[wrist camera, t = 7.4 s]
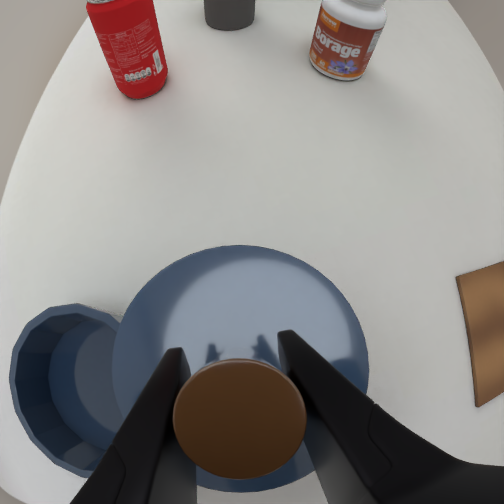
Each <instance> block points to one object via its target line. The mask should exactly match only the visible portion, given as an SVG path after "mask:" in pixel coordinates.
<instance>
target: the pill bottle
mask: <svg viewBox="0 0 504 504" xmlns="http://www.w3.org/2000/svg"><path fill="white" fill-rule="evenodd" d="M384 3H385V0H322V3H321V6H320V11H319V15H318V19H317V23H316V27H315V31H314V35H313V39H312V43H311V47H310V52H309V57H310V61H311V63H312V64H313V66H314V67H315V68H316V69H317V70H318V71H320V72H321V73H323V74H325V75H327V76H329V77H331V78H335V79H339V80H354V79H357V78H359V77H360V76H361V75H362V74H363V73H364V71H365V69H366V67H367V64H368V62H369V60H370V58H371V55H372V53H373V51H374V48H375V46H376V44H377V41H378V39H379V37H380V35H381V32H382V30H383V28H384V25H385V23H386V20H387V14H386V11H385V9H384V7H383V6H382V5H384Z"/></svg>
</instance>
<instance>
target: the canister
mask: <svg viewBox="0 0 504 504" xmlns="http://www.w3.org/2000/svg"><path fill="white" fill-rule="evenodd" d="M122 318H123V316H122V315H119V314H115V313H112V312H109V311H106V310H102V309H98V308H94V307H90V306H86V305H83V304H78V303H76V304H69V305H62V306H55V307H50V308H48V309H46V310H45V311H43V312H42V313H41V314H39V315H38V316H36V317H35V318H34V319H32V320H31V321H30V322H28V323H27V324H26V326H25V328H24V329H23V331H22V333H21V335H20V336H19V338H18V340H17V342H16V344H15V346H14V348H13V351H12V357H11V365H10V373H9V383H10V389H11V394H12V399H13V404H14V409H15V412H16V414H17V416H18V418H19V420H20V422H21V424H22V425H23V427H24V429H25V431H26V433H27V435H28V436H29V438H30V440H31V441H32V442H33V443H34V444H35V445H36V446H37V447H38V448H39V449H40V450H41V451H42V452H43V453H44V454H45V455H46V456H47V457H48V458H49V459H50V460H51V461H52V462H53V463H54V464H56V465H58V466H60V467H62V468H64V469H66V470H68V471H70V472H72V473H74V474H76V475H78V476H80V477H84V478H89V477H90V476H91V474H92V473H93V472H94V470H95V469H96V467H97V465H98V464H99V462H100V461H101V459H102V457H103V456H104V454H105V453H106V451H107V449H108V447H109V446H110V444H113V443H112V441H113V439H114V437H115V436H116V434H117V432H118V431H119V429H120V427H121V425H122V424H123V422H124V420H123V418H122V415H121V413H120V410H119V407H118V404H117V402H116V397H115V393H114V388H113V381H112V353H113V348H114V343H115V338H116V335H117V332H118V329H119V326H120V323H121V320H122Z"/></svg>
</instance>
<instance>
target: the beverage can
mask: <svg viewBox="0 0 504 504" xmlns="http://www.w3.org/2000/svg"><path fill="white" fill-rule="evenodd" d="M86 9H87V12H88V14H89V17H90V20H91V23H92V25H93V28H94V30H95V33H96V36H97V38H98V41H99V43H100V46H101V48H102V51H103V53H104V56H105V58H106V61H107V63H108V66H109V68H110V70H111V73H112V75H113V78H114V80H115V82H116V85H117V87H118V89H119V90H120V91H121V92H122V93H124V94H125V95H126V96H127V97H129V98H132V99H143V98H147V97H150V96H152V95H154V94H156V93H157V92H158V91H160V90H161V89H162V87H163V86H164V84H165V81H166V76H167V73H168V68H167V64H166V59H165V55H164V51H163V46H162V42H161V37H160V32H159V28H158V23H157V18H156V13H155V9H154V4H153V0H87V5H86Z"/></svg>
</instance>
